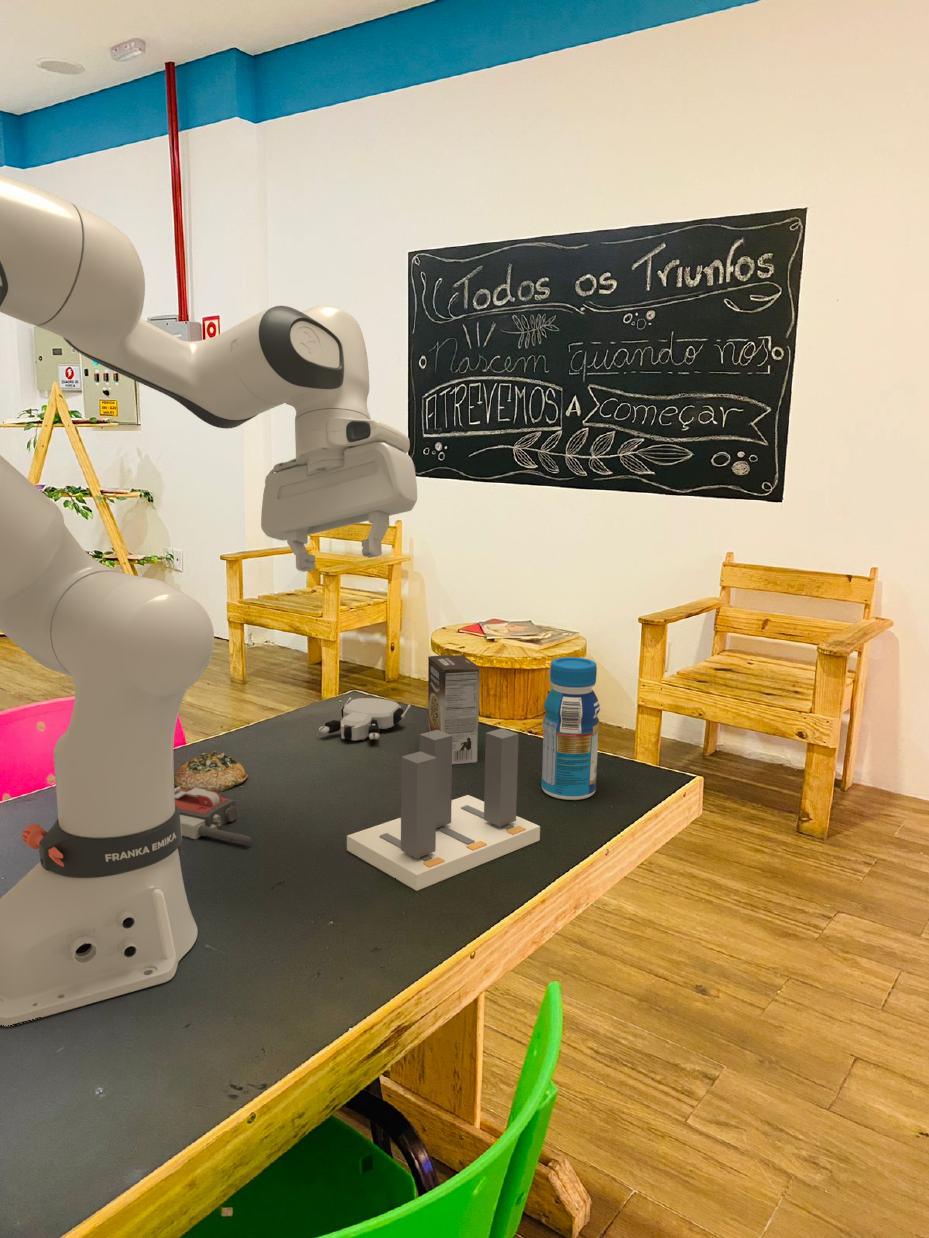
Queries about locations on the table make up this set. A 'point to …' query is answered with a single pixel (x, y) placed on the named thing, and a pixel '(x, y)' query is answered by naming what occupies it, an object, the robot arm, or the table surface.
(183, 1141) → the table surface
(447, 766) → the grey rectangular pillar
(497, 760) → the right switch
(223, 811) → the walkie-talkie
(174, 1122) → the table surface
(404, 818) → the tall grey switch
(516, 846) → the switch bank
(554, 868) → the table surface
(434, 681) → the coffee box
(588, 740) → the beverage bottle
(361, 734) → the robot toy
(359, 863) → the table surface
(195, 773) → the bread roll
